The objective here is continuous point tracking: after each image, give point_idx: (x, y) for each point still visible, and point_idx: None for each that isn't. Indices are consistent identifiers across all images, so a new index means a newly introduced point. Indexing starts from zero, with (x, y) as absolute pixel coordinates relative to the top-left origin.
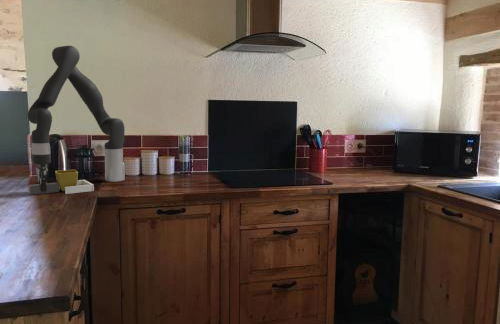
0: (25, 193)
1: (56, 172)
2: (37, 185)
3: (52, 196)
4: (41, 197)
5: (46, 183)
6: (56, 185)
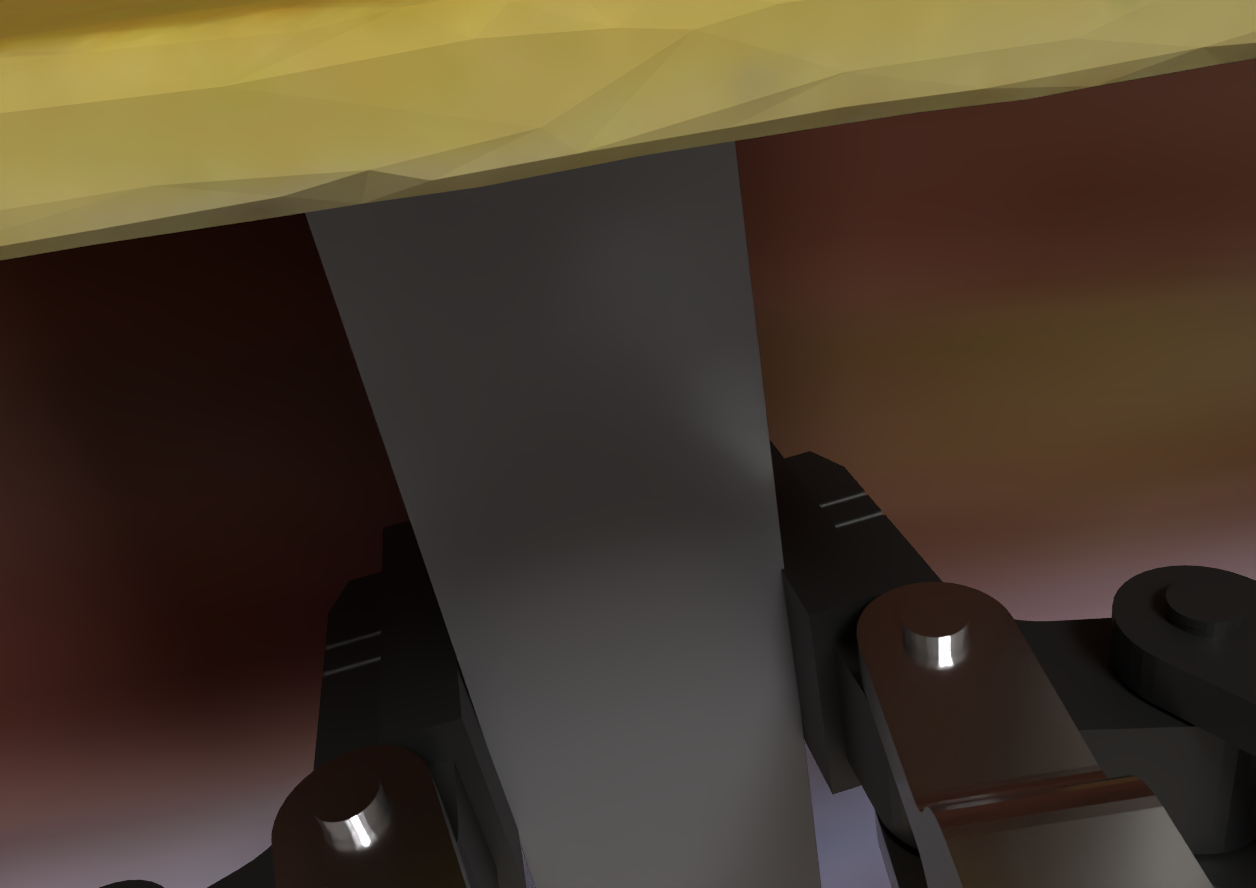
0: None
1: (323, 196)
2: (812, 816)
3: (1249, 166)
4: (1190, 456)
5: (472, 581)
6: None
